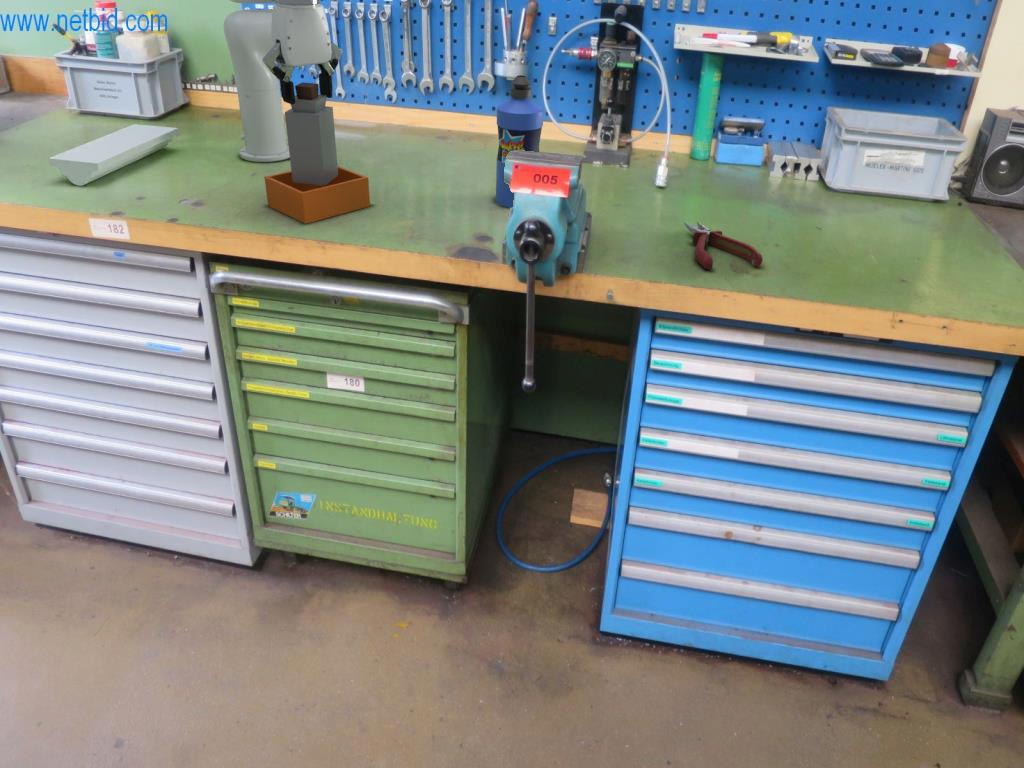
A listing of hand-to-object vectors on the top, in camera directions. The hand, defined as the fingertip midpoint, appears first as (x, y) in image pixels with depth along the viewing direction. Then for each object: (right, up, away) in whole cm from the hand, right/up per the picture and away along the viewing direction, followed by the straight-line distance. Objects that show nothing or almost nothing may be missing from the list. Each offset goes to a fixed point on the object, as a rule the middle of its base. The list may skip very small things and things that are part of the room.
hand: (308, 99), depth 150 cm
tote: (-1, -18, +11) cm, 21 cm away
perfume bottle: (-1, -13, +8) cm, 16 cm away
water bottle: (+40, -16, +17) cm, 46 cm away
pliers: (+77, -29, -3) cm, 83 cm away
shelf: (-50, -5, +29) cm, 58 cm away
